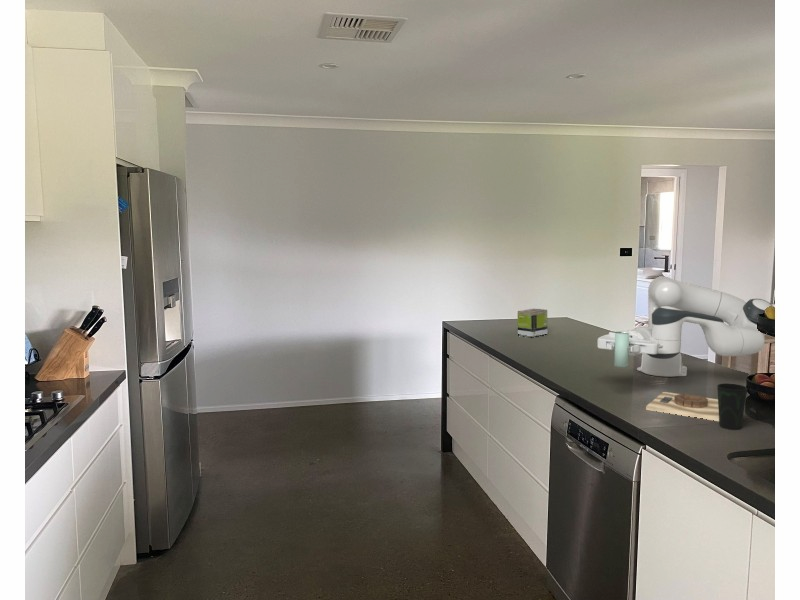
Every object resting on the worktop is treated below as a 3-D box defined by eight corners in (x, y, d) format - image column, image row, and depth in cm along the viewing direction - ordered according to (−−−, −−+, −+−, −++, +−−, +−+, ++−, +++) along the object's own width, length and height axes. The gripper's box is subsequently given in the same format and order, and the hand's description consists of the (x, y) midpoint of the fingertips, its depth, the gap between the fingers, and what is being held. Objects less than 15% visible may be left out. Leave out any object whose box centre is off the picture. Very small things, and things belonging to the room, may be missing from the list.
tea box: (533, 333, 344) (533, 308, 343) (547, 335, 337) (548, 309, 335) (516, 336, 335) (517, 310, 333) (531, 338, 327) (531, 311, 325)
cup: (748, 426, 174) (750, 386, 173) (741, 432, 168) (743, 391, 167) (719, 420, 179) (721, 382, 178) (711, 427, 174) (713, 386, 172)
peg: (616, 363, 205) (617, 332, 204) (629, 365, 202) (631, 333, 201) (612, 366, 201) (613, 333, 200) (626, 367, 199) (627, 335, 198)
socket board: (663, 395, 209) (663, 386, 209) (734, 405, 196) (734, 395, 195) (646, 409, 191) (646, 400, 191) (722, 422, 178) (723, 411, 178)
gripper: (664, 354, 205) (652, 361, 194) (605, 348, 218) (591, 354, 207) (665, 336, 205) (653, 342, 194) (605, 331, 217) (591, 336, 206)
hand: (620, 348), depth 201 cm, fingers closed on peg, 4 cm apart
